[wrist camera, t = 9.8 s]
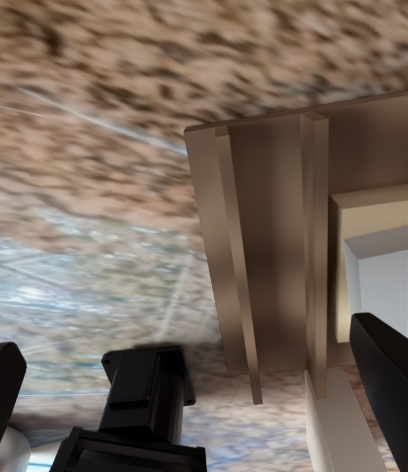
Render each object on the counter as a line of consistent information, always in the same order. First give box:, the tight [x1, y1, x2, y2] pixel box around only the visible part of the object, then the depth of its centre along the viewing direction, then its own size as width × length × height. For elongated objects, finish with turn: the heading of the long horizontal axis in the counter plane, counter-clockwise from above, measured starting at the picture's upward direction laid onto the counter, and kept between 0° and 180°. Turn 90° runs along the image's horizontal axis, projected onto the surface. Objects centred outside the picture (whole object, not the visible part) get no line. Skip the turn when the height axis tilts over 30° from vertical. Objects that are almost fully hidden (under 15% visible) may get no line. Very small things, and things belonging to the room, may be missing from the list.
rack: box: [184, 90, 408, 405], centre depth 20 cm, size 18×14×4 cm
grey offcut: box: [343, 225, 408, 338], centre depth 17 cm, size 7×4×2 cm, turn 15°
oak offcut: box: [328, 184, 408, 343], centre depth 19 cm, size 9×4×2 cm, turn 9°
